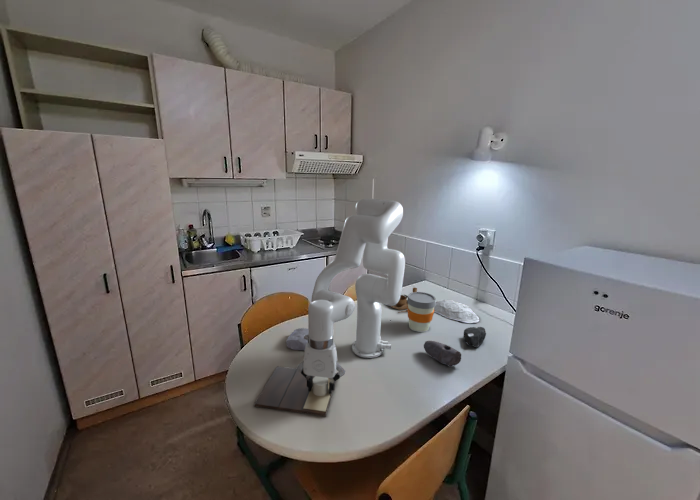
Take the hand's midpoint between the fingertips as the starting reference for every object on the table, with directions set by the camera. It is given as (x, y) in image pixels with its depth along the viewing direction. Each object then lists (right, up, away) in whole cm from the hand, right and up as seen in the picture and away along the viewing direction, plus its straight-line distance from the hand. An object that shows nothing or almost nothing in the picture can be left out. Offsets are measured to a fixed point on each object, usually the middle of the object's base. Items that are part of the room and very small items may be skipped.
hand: (320, 389), depth 95 cm
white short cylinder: (0, 0, 0) cm, 0 cm away
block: (-11, +6, +28) cm, 31 cm away
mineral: (+62, +5, +32) cm, 70 cm away
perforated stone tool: (+44, +2, +19) cm, 48 cm away
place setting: (+40, +15, +65) cm, 78 cm away
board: (-7, -1, +1) cm, 7 cm away
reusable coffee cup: (+41, +9, +43) cm, 60 cm away
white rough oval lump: (+63, +12, +57) cm, 86 cm away
